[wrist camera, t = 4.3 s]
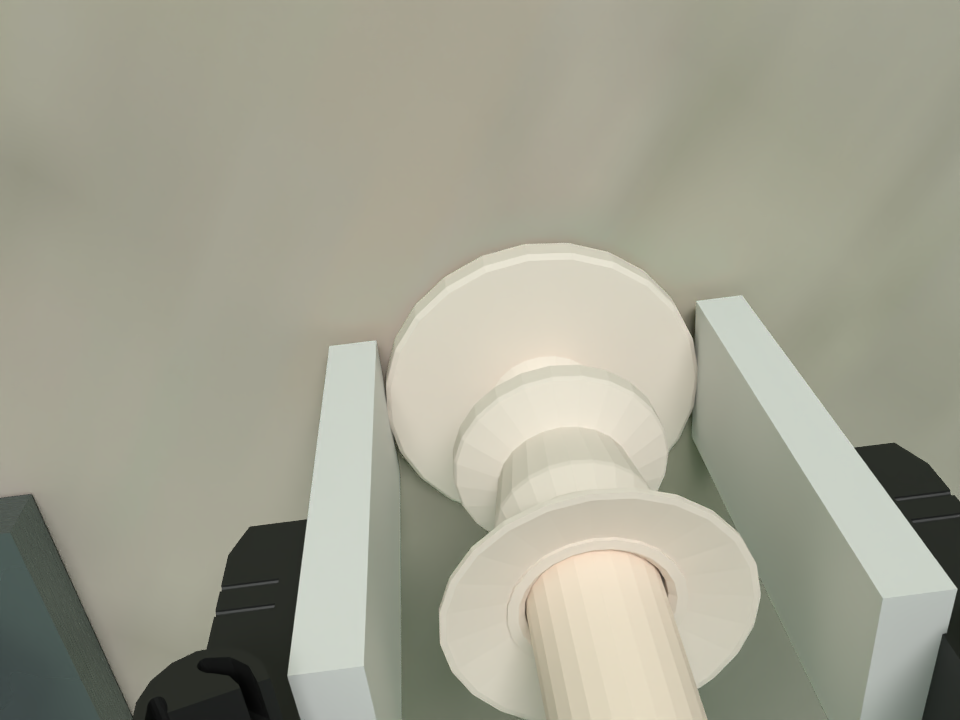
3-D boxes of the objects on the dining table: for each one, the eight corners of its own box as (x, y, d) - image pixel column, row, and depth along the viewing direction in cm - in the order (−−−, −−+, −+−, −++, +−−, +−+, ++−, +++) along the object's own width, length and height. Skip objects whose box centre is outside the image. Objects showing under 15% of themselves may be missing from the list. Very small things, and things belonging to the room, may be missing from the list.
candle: (320, 366, 15) (205, 1177, 6) (580, 174, 14) (934, 845, 5) (507, 545, 17) (626, 1319, 8) (744, 396, 16) (1191, 1128, 7)
